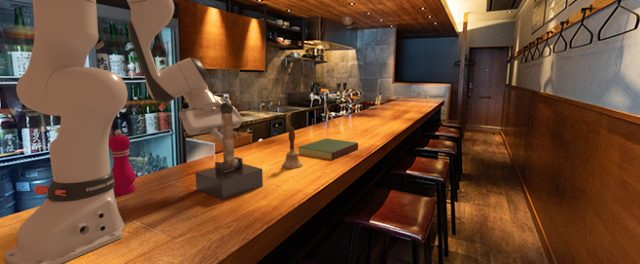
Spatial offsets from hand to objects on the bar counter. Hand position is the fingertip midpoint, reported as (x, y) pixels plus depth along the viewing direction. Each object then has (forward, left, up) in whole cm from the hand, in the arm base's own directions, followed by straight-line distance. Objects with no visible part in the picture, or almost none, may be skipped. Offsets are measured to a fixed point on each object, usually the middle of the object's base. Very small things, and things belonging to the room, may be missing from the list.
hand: (224, 139), depth 111 cm
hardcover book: (+59, -18, -17) cm, 64 cm away
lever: (-1, -2, -10) cm, 10 cm away
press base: (-1, -2, -16) cm, 16 cm away
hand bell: (+30, -11, -16) cm, 36 cm away
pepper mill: (-15, +28, -16) cm, 36 cm away
